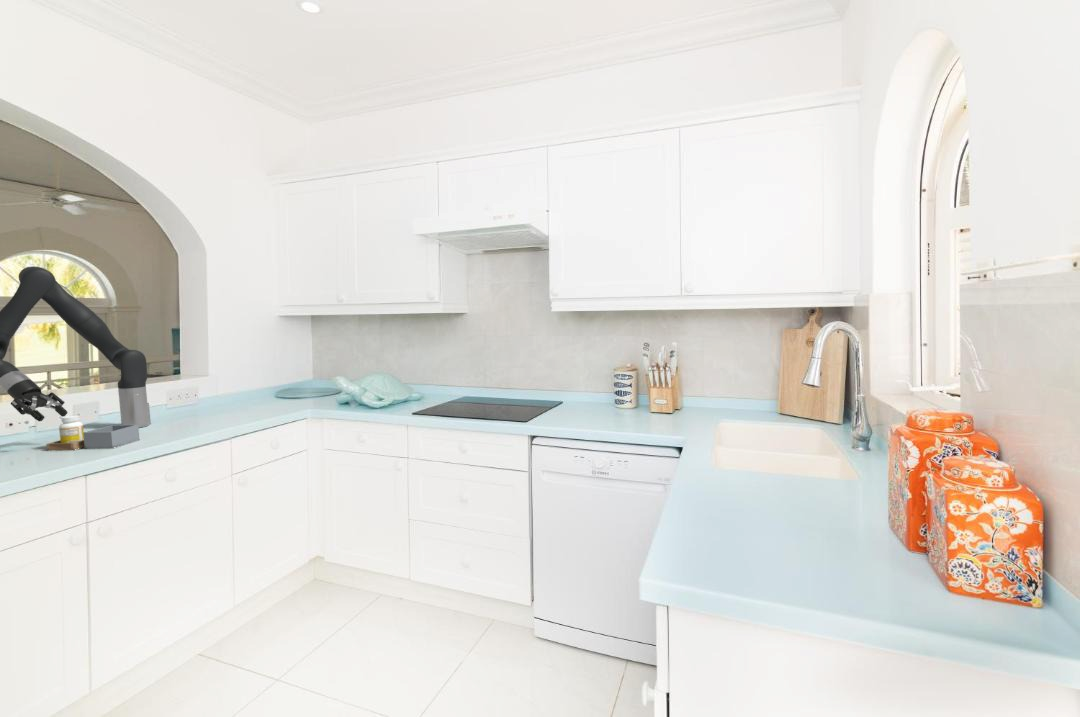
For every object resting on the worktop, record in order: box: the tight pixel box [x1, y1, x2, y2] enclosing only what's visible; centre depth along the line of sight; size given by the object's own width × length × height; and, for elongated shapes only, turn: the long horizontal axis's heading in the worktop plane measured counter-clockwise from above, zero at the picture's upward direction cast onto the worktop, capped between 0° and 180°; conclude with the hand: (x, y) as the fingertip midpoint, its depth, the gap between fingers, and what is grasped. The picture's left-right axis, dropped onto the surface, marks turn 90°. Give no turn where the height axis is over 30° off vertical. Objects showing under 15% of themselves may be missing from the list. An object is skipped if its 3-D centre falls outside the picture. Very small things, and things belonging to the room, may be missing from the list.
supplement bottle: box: [58, 415, 85, 443], centre depth 180 cm, size 6×6×11 cm
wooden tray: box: [46, 440, 85, 451], centre depth 181 cm, size 10×10×2 cm
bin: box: [83, 424, 140, 449], centre depth 184 cm, size 12×10×6 cm
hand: (54, 417), depth 180 cm, fingers open, 8 cm apart
